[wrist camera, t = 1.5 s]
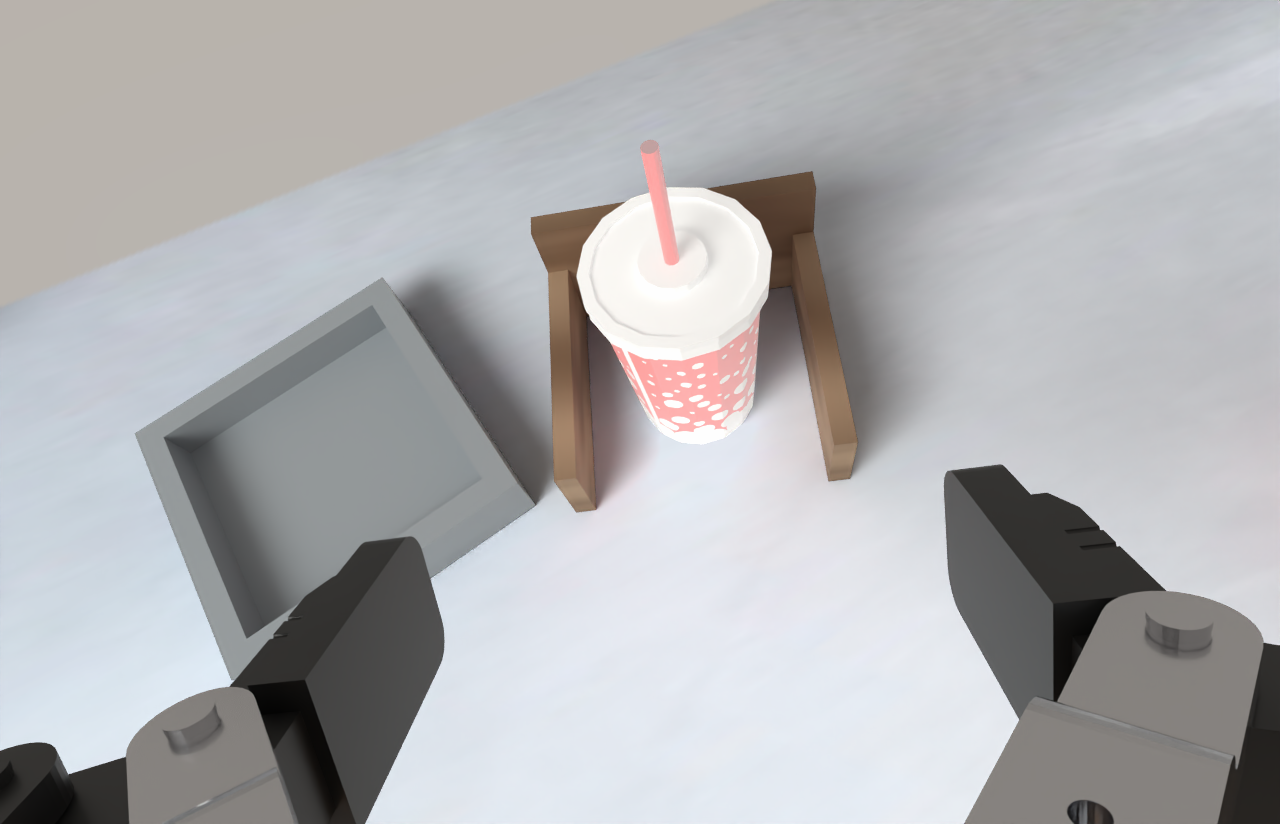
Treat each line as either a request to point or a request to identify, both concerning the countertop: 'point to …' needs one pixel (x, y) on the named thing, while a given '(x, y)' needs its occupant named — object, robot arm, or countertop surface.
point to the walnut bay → (793, 263)
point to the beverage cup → (680, 302)
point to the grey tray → (323, 467)
